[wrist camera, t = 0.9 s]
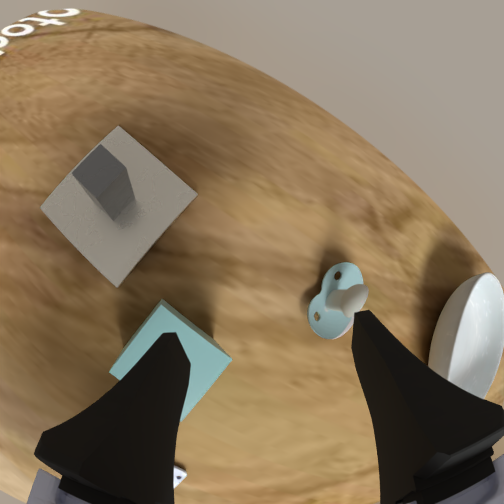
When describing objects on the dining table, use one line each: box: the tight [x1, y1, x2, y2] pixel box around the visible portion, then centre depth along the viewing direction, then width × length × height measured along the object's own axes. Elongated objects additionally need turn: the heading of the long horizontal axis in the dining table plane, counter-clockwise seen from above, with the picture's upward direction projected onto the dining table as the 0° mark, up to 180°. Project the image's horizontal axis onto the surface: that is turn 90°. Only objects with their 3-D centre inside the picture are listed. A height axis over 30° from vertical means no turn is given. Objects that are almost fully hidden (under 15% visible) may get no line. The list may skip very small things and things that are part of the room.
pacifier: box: [307, 262, 368, 339], centre depth 23 cm, size 7×6×6 cm
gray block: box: [40, 125, 198, 288], centre depth 18 cm, size 10×10×7 cm
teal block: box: [109, 299, 232, 421], centre depth 18 cm, size 5×5×7 cm
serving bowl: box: [428, 273, 504, 399], centre depth 29 cm, size 21×21×7 cm
